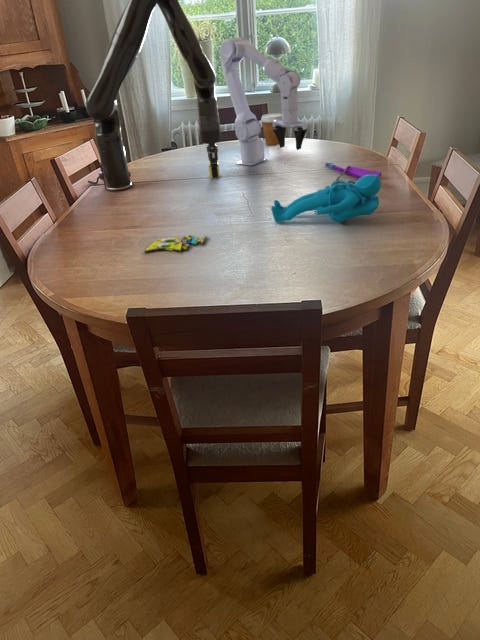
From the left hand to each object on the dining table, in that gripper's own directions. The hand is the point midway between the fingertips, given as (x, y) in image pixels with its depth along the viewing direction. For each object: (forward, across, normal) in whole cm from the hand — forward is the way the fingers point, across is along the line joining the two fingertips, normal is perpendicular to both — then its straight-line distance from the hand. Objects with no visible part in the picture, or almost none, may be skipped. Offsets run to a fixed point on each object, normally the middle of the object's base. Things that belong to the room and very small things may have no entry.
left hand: (214, 175), depth 181 cm
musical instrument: (+1, -18, -45) cm, 49 cm away
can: (+1, 0, 0) cm, 1 cm away
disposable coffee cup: (+1, +42, -29) cm, 51 cm away
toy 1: (+1, -60, +15) cm, 62 cm away
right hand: (-7, +2, -30) cm, 30 cm away
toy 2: (+1, -55, -28) cm, 61 cm away
